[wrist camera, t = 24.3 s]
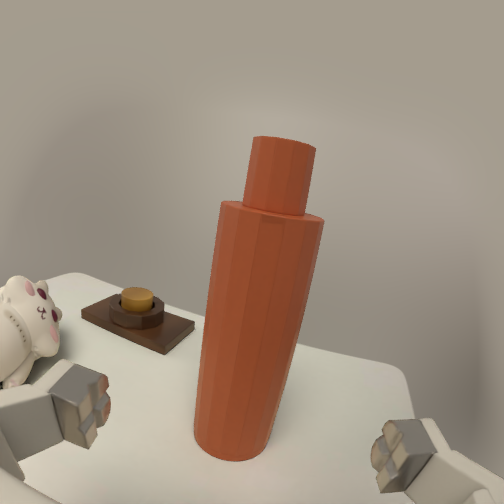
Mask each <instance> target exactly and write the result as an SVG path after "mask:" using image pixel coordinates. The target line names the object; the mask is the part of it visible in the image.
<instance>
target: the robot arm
mask: <svg viewBox="0 0 504 504" xmlns="http://www.w3.org/2000/svg"><path fill="white" fill-rule="evenodd" d="M108 387H109V383H108V377H107V376H106V375H104V374H101V373H99V372H96V371H93V370H91V369H88V368H86V367H83V366H81V365H78V364H75V363H72V362H70V361H68V360H65V359H61V360H59V361H58V362H57V363H56V364H55V365H54V366H52V367H51V368H50V369H49V370H48V371H47V372H46V373H45V374H44V375H43V376H42V377H41V378H40V379H39V380H38V381H36V382H35V383H34V384H33V385H31V384H24V385H20V386H16V387H11V388H7V389H2V390H0V504H62V503H60V502H58V501H56V500H54V499H52V498H50V497H48V496H46V495H45V494H43V493H41V492H39V491H38V490H36V489H34V488H32V487H31V486H29V485H27V484H26V483H24V482H23V481H24V479H25V476H24V473H23V471H22V470H21V468H20V466H19V464H18V461H21V460H23V459H25V458H27V457H30V456H32V455H34V454H36V453H39V452H41V451H43V450H45V449H47V448H49V447H51V446H54V445H56V444H58V443H60V442H62V441H63V439H64V440H66V441H69V442H71V443H73V444H76V445H78V446H81V447H83V448H86V449H88V450H89V448H90V446H91V445H92V443H93V442H94V440H95V439H96V437H97V435H98V434H97V429H96V428H99V427H101V426H104V424H105V423H106V421H107V419H108V416H109V413H110V408H111V401H110V397H109V395H108V394H107V393H106V390H107V388H108ZM382 432H383V435H382V436H381V437H379V438H378V439H376V441H375V443H374V444H373V446H372V450H371V463H372V467H373V468H374V469H375V470H377V471H378V472H379V473H378V474H377V476H376V480H377V484H378V487H379V490H380V494H381V493H392V492H402V491H405V492H404V493H405V494H406V495H407V496H408V497H409V498H410V499H411V500H413V501H414V502H415V503H416V504H504V479H503V478H501V477H500V476H498V475H496V474H494V473H493V472H491V471H489V470H488V469H486V468H484V467H482V466H481V465H479V464H477V463H476V462H474V461H472V460H471V459H469V458H467V457H466V456H464V455H462V454H461V453H459V452H458V451H456V450H452V451H451V449H450V447H449V445H448V444H447V442H446V440H445V438H444V437H443V435H442V433H441V432H440V430H439V428H438V427H437V425H436V423H435V422H434V420H433V419H431V418H422V419H409V420H389V421H387V422H386V423H385V425H384V426H383V428H382Z"/></svg>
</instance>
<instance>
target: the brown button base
mask: <svg viewBox="0 0 504 504" xmlns="http://www.w3.org/2000/svg"><path fill="white" fill-rule="evenodd" d="M81 315H82V318H83V319H85V320H87V321H89V322H91V323H94V324H96V325H98V326H100V327H102V328H104V329H106V330H108V331H110V332H113V333H115V334H117V335H119V336H121V337H124V338H126V339H128V340H130V341H133V342H135V343H137V344H140V345H142V346H144V347H147V348H149V349H151V350H154V351H156V352H159V353H161V354H164V355H165V354H166V353H167V352H168V351H170V350H171V349H172V348H173V347H174V346H175V345H177V344H178V343H179V342H180V341H181V340H182V339H184V338H185V337H186V336H187V335H188V334H189V333H191V332H192V331H193V330H194V325H195V322H194V321H191V320H188V319H185V318H182V317H179V316H176V315H173V314H171V313H168V312H165V311H164V302H162V301H161V300H160V299H159V298H157V297H155V296H153V308H152V309H151V310H149V311H142V312H137V311H129V310H126V309H124V308H122V306H121V294H119V295H118V294H115V295H113V296H110V297H108V298H106V299H104V300H101V301H99V302H97V303H95V304H93V305H90V306H88V307H86V308H84V309H82V310H81Z"/></svg>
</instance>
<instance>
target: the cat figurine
mask: <svg viewBox="0 0 504 504" xmlns="http://www.w3.org/2000/svg"><path fill="white" fill-rule="evenodd" d="M61 318H62V311H61V310H60V309H59V308H57V307H55V305H54V302H53V300H52V299H51V297H50V296H49V295H48V285H47V283H46V282H45V281H43V280H40V281H38V282H37V283H36V284H34V283H32V282H31V281H30V280H28V279H27V278H25V277H23V276H13V277H11V278H10V279H9V280H8V282H7V284H6V285H5V286H3V287H1V288H0V382H2V381H3V389H7V388H11V387H16V386H20V385H22V384H23V383H24V382H25V380H26V379H27V377H28V375H29V373H30V371H31V369H32V366H33V363H34V361H35V360H37V359H38V358H40V357H41V356H44V357H52V356H54V355H55V354H56V353H57V351H58V348H59V345H60V333H59V323H58V321H60V320H61Z"/></svg>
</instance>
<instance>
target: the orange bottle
mask: <svg viewBox="0 0 504 504" xmlns="http://www.w3.org/2000/svg"><path fill="white" fill-rule="evenodd" d="M315 152H316V148H315V147H313V146H311V145H309V144H306V143H302V142H298V141H295V140H289V139H284V138H279V137H278V138H277V137H268V136H259V137H254V138H253V144H252V150H251V155H250V161H249V167H248V173H247V179H246V185H245V191H244V198H243V202H239V201H223V202H221V207H220V214H219V220H218V227H217V234H216V241H215V248H214V255H213V262H212V269H211V277H210V285H209V292H208V300H207V308H206V316H205V324H204V332H203V341H202V350H201V359H200V368H199V378H198V387H197V397H196V408H195V419H194V436H195V439H196V441H197V443H198V445H199V446H200V447H201V448H202V449H203V450H204V451H205V452H207V453H208V454H210V455H212V456H214V457H216V458H219V459H222V460H227V461H243V460H248V459H251V458H253V457H255V456H257V455H258V454H260V453H261V452H262V451H263V450H264V448H265V446H266V444H267V441H268V439H269V437H270V434H271V430H272V427H273V424H274V421H275V417H276V414H277V411H278V407H279V404H280V401H281V397H282V394H283V390H284V387H285V383H286V380H287V376H288V373H289V369H290V365H291V362H292V358H293V354H294V351H295V347H296V343H297V339H298V335H299V331H300V327H301V323H302V319H303V315H304V311H305V307H306V303H307V299H308V294H309V290H310V285H311V281H312V277H313V273H314V268H315V263H316V259H317V254H318V250H319V245H320V240H321V235H322V230H323V225H324V220H323V219H322V218H320V217H317V216H314V215H311V214H307V213H305V209H306V203H307V198H308V192H309V186H310V181H311V175H312V169H313V164H314V157H315Z"/></svg>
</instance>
